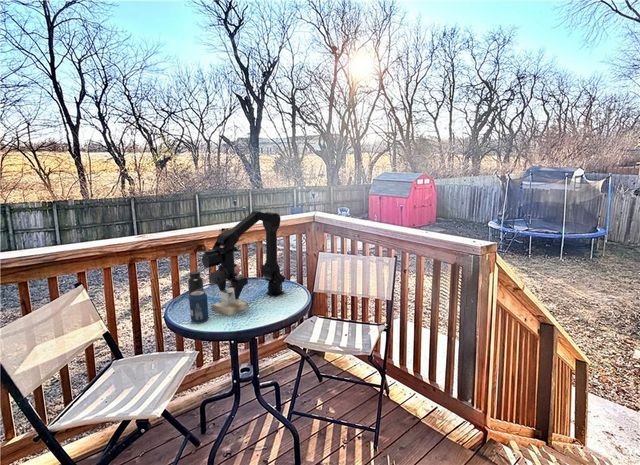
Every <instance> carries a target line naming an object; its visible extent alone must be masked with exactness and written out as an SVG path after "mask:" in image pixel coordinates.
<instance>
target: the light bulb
mask: <svg viewBox="0 0 640 465" xmlns="http://www.w3.org/2000/svg"><path fill="white" fill-rule="evenodd" d="M240 272H241V268H240V266H239V265H238V264H237V267H235V273H237V276H235V278H236V277H239V275H240ZM229 284H230V286H232V284H231V281H229Z"/></svg>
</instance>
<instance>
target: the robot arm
mask: <svg viewBox="0 0 640 465" xmlns="http://www.w3.org/2000/svg"><path fill="white" fill-rule="evenodd" d="M281 220H282V219H281V215H279V213H276V212H271V211H266V212H262V211H259V210H253V211H251V212H250V214H248V215H247V216H246V217H245V218H243V219H242V220H241V221H239V222H238V223H237V224H236V225H234V226H233V227H231V228H229V229H227V230H225V231H223V232H221V233H219V234H218V235H217V237H216V241H215V243H214V244H213V246H212V248H211V250H204V251H203V253H204V254H203V255H202V258H201V261H202V262H201V263H202V265H203V267H204V268H206V269H208V268H213V267H216V266H218V269H217V270H215V271H212V272H210V275H209V276H208V277H209V279H210V282H211V283H212V284H216V285H217V286H218V289H219V291H220V292H221V291H223V290H226V289H227V288H226V286H227V281H229V282H230V281H231V284H232V286H231V284H230V286H231V287H232V288H234V293H235V299H236V300H237V299H238V298H239V299H240V295H241V293H242V291H243V289H244V287H245V286H246V285H249V279H248V277H245V276H243V275H240V276H239V275H238V277H236V278H235V276H237V273H235V267H237V265H238V264H237V263H235V252H238V251H239V249H238V247H236V244H237V243H238V242H239V239H240V237H242V236H243V235H244V234H245V233H246V232H247V231H249V229H251V228H252V227H253V226H254V225H256V224H257V223H258V222H260V221H261V222H262V226H263V228H264V230H265V249H266V250H265V262H264V264H262V265H261V271H260V272H261V274H262V277H264V279H265V281H268V282H267V292H266V295H270V296H273V297H278V296H281V295H283V294H284V293H286V292H285V291H284V290H283V283H285V280H286V277H285V276H284V275H283V274H282V273H281V269H280V266H279V263H278V261H277V259H278V258H277V254H278V253H277V249H278V248H277V244H278V242H277V240H278V239H277V232H278V230H279V228H280V226H281V225H280V224H281ZM231 287H230V288H231Z"/></svg>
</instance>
